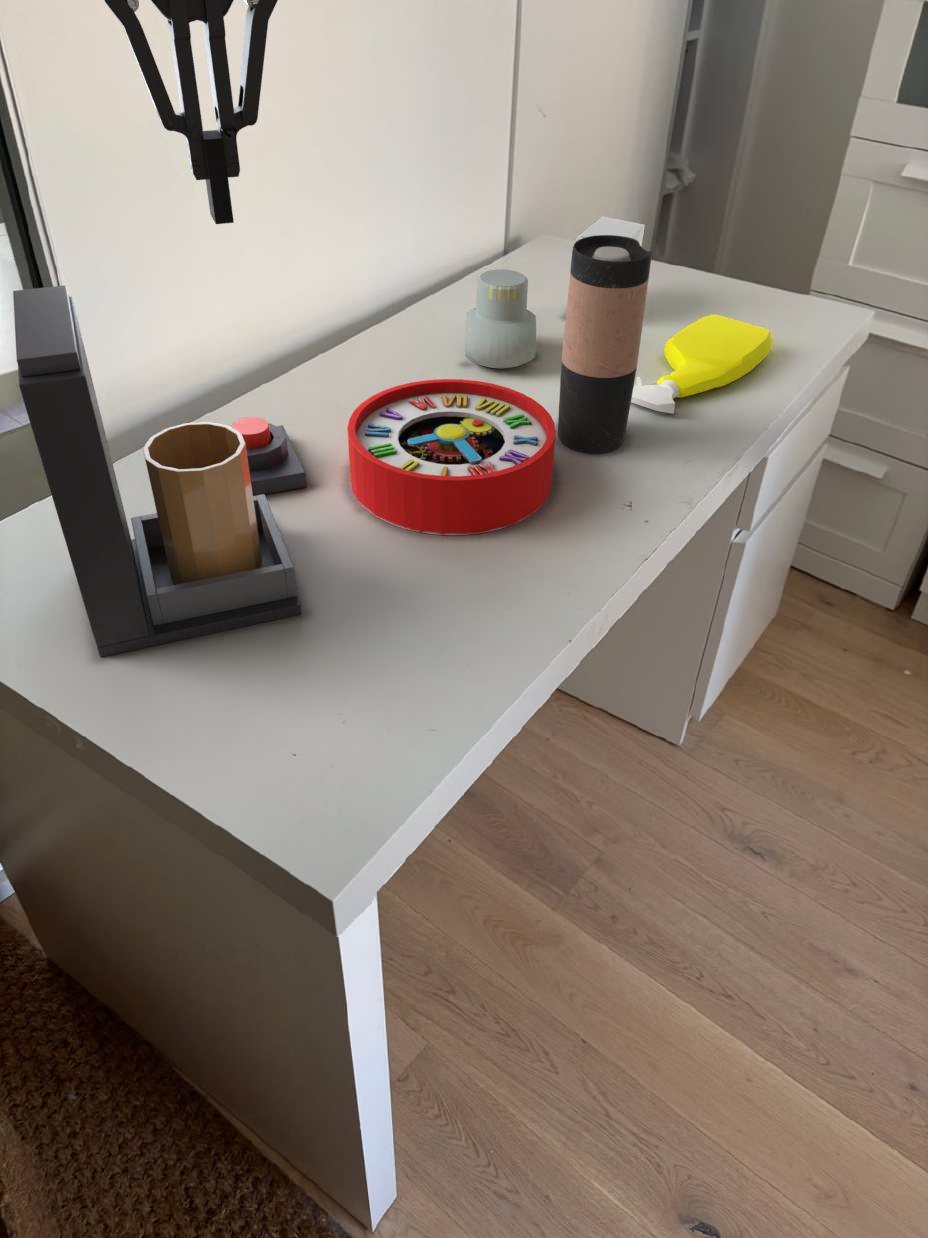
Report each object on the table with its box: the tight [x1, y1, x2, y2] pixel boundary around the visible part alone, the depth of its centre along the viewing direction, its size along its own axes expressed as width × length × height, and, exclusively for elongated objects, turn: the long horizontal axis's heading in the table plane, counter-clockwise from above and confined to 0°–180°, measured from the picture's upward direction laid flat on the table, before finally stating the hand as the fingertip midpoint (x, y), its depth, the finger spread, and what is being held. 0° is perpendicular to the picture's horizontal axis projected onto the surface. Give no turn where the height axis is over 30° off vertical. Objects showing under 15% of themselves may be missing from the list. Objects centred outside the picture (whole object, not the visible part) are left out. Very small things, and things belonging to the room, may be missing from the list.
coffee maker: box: [12, 285, 303, 658], centre depth 75 cm, size 14×16×24 cm
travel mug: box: [557, 235, 653, 454], centre depth 97 cm, size 8×8×20 cm
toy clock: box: [347, 378, 557, 536], centre depth 95 cm, size 20×6×20 cm
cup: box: [142, 421, 262, 585], centre depth 79 cm, size 8×8×12 cm
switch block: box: [246, 422, 308, 496], centre depth 96 cm, size 10×8×4 cm
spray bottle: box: [631, 313, 774, 415], centre depth 115 cm, size 3×11×24 cm
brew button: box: [231, 416, 271, 449], centre depth 95 cm, size 4×4×2 cm
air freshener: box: [464, 268, 537, 369], centre depth 115 cm, size 11×8×10 cm
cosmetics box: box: [574, 216, 645, 247], centre depth 127 cm, size 10×6×10 cm, turn 155°
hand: (222, 218), depth 82 cm, fingers closed
